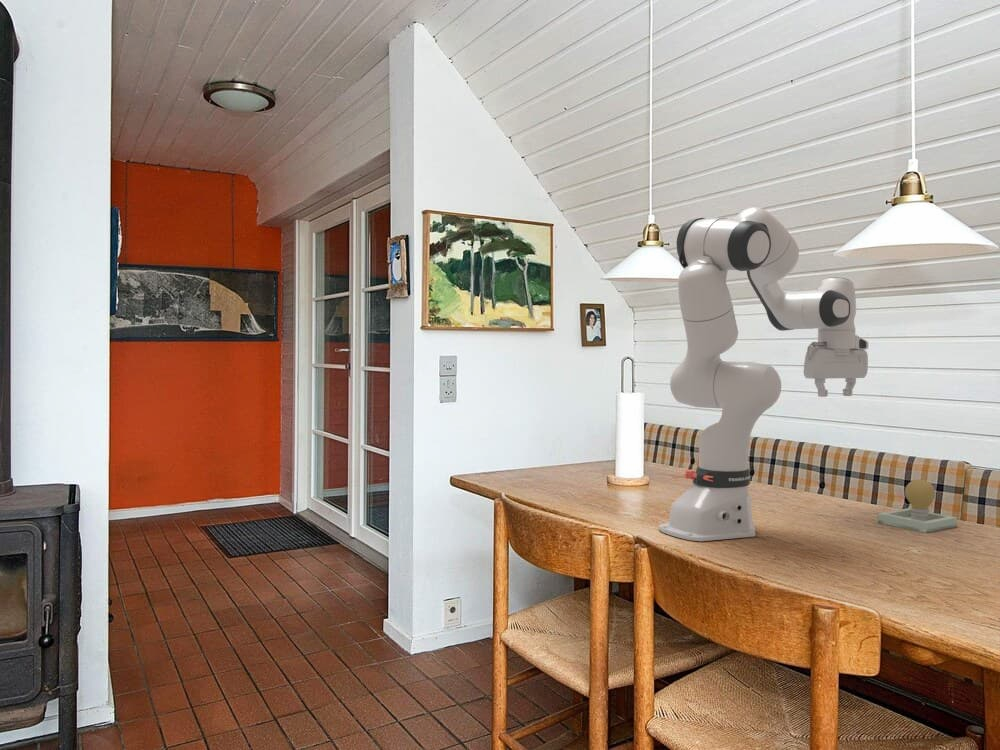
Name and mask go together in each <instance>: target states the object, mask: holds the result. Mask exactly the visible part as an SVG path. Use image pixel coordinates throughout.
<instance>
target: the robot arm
mask: <svg viewBox="0 0 1000 750" xmlns="http://www.w3.org/2000/svg"><path fill="white" fill-rule="evenodd" d="M799 249H800V248H799V246H798V243H797V241H796V240H795V238H794V237H793V236H792V235H791V233H790V231H788V229H786V227H785V226H784V225H783V223H781V222H780V220H778V218H776V216H774V215H773V214H771V213H770V212H769V211H767V210H766V209H764V208H762V207H757V206H752V207H747V208H746V209H743V210H741V211H740V212H739V213H738V214H737V215H736V216H735V217H734V218H733V219H732V218H726V217H710V218H704V217H699V218H695V219H691V220H688V221H686V222H685V223H683V225H682V226H681V227H680V229H679V231H678V232H677V237H676V252H677V256H678V260H679V263H680V266H681V267H682V268H683V269H682V271H681V272H680V273H679V275H678V280H677V283H678V284H677V285H678V290H677V291H678V300H679V306H680V311H681V312H680V313H681V316H682V321H683V325H684V330H685V336H686V341H687V342H686V343H687V344H686V345H687V350H686V354H685V357H684V358H683V360H682V361H681V363H680V364H679V365H677V367H675V369H674V370H673V371H672V374H671V377H670V381H669V385H670V390H671V395H672V396H673V398H674V399H675V400H676V402H677V403H679V404H683V405H686V406H690V407H695V408H702V409H703V408H705V409H707V408H708V409H721V410H722V412H721V417H720V419H719V420H718V422H715V423H714V424H711V425H709V426H707V427H706V428H704V429H703V430H702V431H701V433H700V435H699V438H698V466H697V468H696V470H695V471H694V470H691V469H686V470H685V472H684V477H685V479H691V480H692V484H691V485H690V487H689V488H687V489H686V490H685V491H684V492H683V493H682V494H681V495H680V496H679V497H678V498H677V499H675V500H674V502H672V504H671V506H670V511H669V519H668V522H666V523H662V524H659V525H658V530H659V531H660V532H662V533H664V534H667V535H668V536H672V537H675V538H679V539H683V540H688V541H695V542H708V541H720V540H729V539H739V538H740V539H741V538H752V537H756V528H755V525H754V520H753V512H752V511H753V510H752V503H751V496H750V492H749V485H750V483H751V473H750V472H751V469H750V468H749V449H750V440H751V433H752V431H753V429H754V426H755V424H756V422H757V421H758V419H759V418H760V417H761V416H762V415H763V414H764V413H765V412H766V411H767V410H768V409H770V408H772V407H773V406H774V405H775V404H776V403H777V401H778V399H779V398H780V395H781V391H782V380H781V378H780V375H779V373H778V371H777V369H775V368H774V367H773V366H771V365H768V364H764V363H759V362H754V361H725V360H722V358H721V356H720V355H722V354H723V353H725V352H727V351H728V350H730V349H732V347H733V346H734V345H735V344H736V342H737V340H738V338H739V329H738V325H737V320H736V315H735V312H734V311H735V310H734V306H733V300H732V298H731V294H730V290H729V288H728V285H727V284H728V283H727V276H728V271H739V272H746V275H747V279H748V281H749V284H750V285H751V287H752V288H753V290H754V292H755V294H756V296H757V297H758V299H759V300H760V302H761V304H762V306H763V307H764V309H765V311H766V315H767V318H768V320H769V323H770V324H771V325H772V326H773V327H774V329H776V330H778V331H781V332H782V331H783V332H784V331H793V330H813V329H817V341H812V342H811V343H810V344H809V345H808V346H807V349H806V353H805V357H804V363H803V364H804V365H803V376H804V377H805V379H814V384H815V385H814V386H815V387H816V389H817V397H820V398H825V397H828V395H829V394H828V392H829V391H828V390H829V389H826V386H825V384H826V379H845V383H846V384H845V388H843V389H842V396H843V397H852V396H853V389H854V388H855V385H856V383H857V379H865V378H866V376H867V374H868V371H869V369H868V368H869V366H868V365H869V355H868V352H867V350H868V349H869V341H867V340H866V339H863V338H862V337H861V336H859V335H857V334H856V326H855V318H856V314H857V310H856V309H857V306H856V305H857V299H856V288H855V286H854V282H853V281H852V280H850V279H848V278H844V277H838V276H837V277H834V276H833V277H827V278H824V279H823V280H822V281H821V283H820V286H819V287H818V288H815V289H810V290H797V291H792V290H784V289H782V288H781V286H780V284H779V283H778V281H781V280H783V279H785V278H786V277H787V276H789V274H790V273H791V272H792V271H793V270H794V269H795V267H796V265H797V263H798V260H799V257H800V250H799Z"/></svg>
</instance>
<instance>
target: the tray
mask: <svg viewBox="0 0 1000 750" xmlns="http://www.w3.org/2000/svg"><path fill="white" fill-rule="evenodd" d="M911 512H912V511H911V507H910V508H909V507H907V508H902V509H894V510H891V511H883V512H879V513H878V512H877V523H878V524H883V525H888V526H893V527H897V528H900V529H901V528H902V529H906V530H911V531H917V532H919V533H925V534H927V533H932V532H937V531H938V532H939V531H941V530H942V531H943V530H947V529H948V530H949V529H952V528H957V527H958V517H957V516H956V517H955V516H951V515H946V514H942V513H936V512H931V511H929V512H928V513H929V516H928V517H929V520H928V521H920V520H915V519H911Z"/></svg>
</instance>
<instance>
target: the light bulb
mask: <svg viewBox="0 0 1000 750" xmlns="http://www.w3.org/2000/svg"><path fill="white" fill-rule="evenodd" d="M904 494H905V498H906V499H907V501H908V502H909V504H910V505H911V507H910V509H911V511H912V512H911V519H915V520H920V521H928V520H929V517H928V516H929V513H928V512H930V509H929V506H931V505H932V503H933V502H934V500H935V498H936V489H935V487H934V485H933V484H932V483H931V482H929V481H927V480H925V479H913V480H911V481H910V482H908V483H907V485H906V486H905V489H904Z"/></svg>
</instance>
